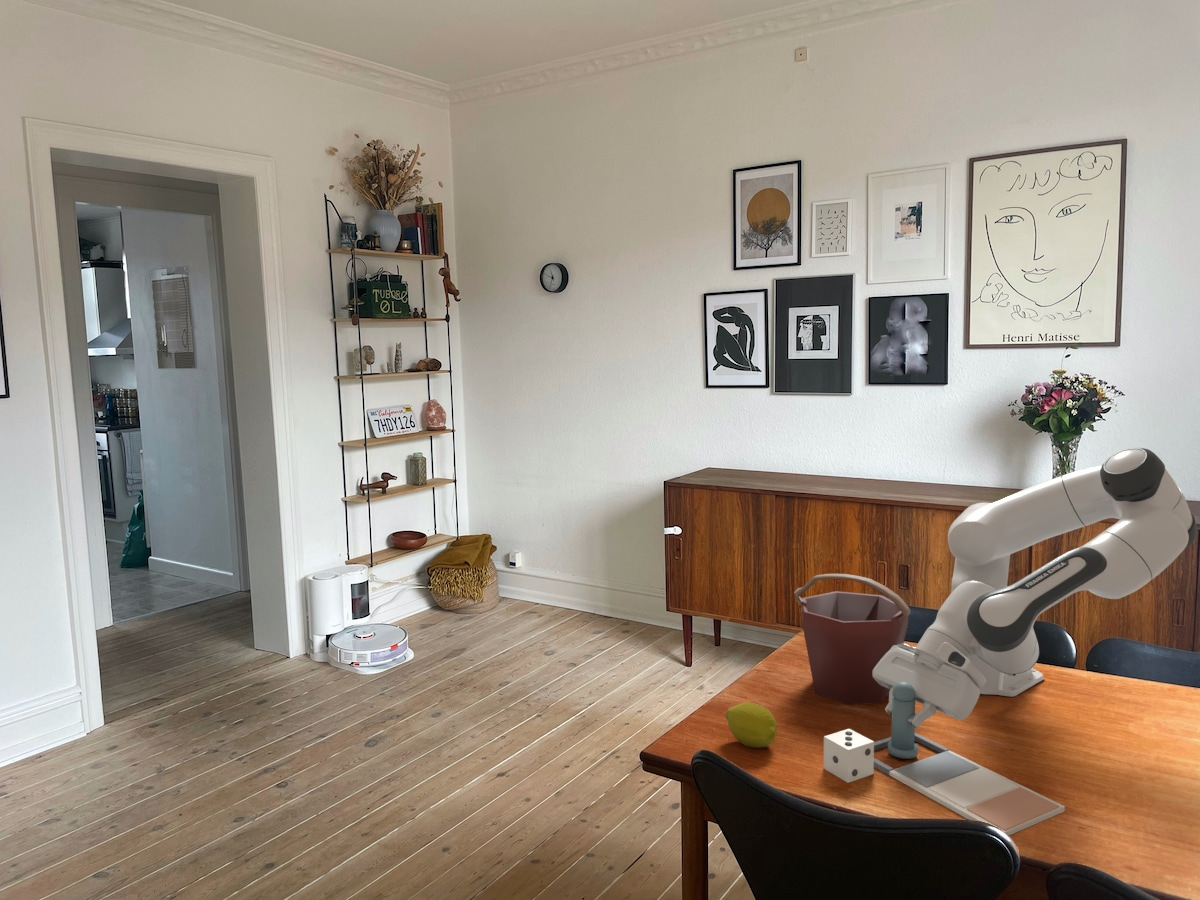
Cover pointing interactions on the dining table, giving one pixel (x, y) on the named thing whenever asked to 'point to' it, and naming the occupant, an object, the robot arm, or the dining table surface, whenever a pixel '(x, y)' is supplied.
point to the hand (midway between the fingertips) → (900, 719)
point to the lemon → (752, 724)
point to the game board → (972, 789)
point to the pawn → (903, 722)
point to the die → (848, 755)
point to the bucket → (850, 638)
